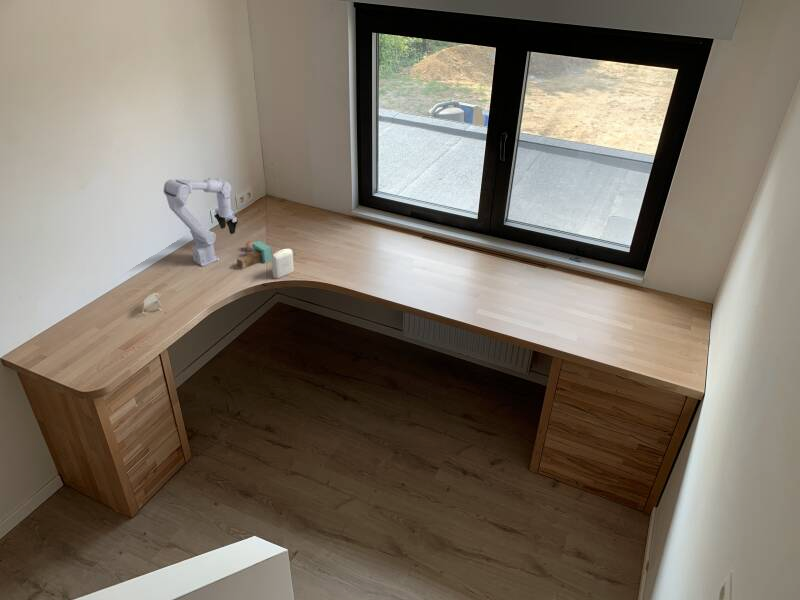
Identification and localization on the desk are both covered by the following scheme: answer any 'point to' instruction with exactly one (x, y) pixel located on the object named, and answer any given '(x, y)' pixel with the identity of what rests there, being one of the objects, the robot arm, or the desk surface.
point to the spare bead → (249, 246)
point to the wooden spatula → (249, 259)
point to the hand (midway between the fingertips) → (227, 230)
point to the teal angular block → (263, 250)
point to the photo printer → (282, 263)
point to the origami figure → (151, 301)
